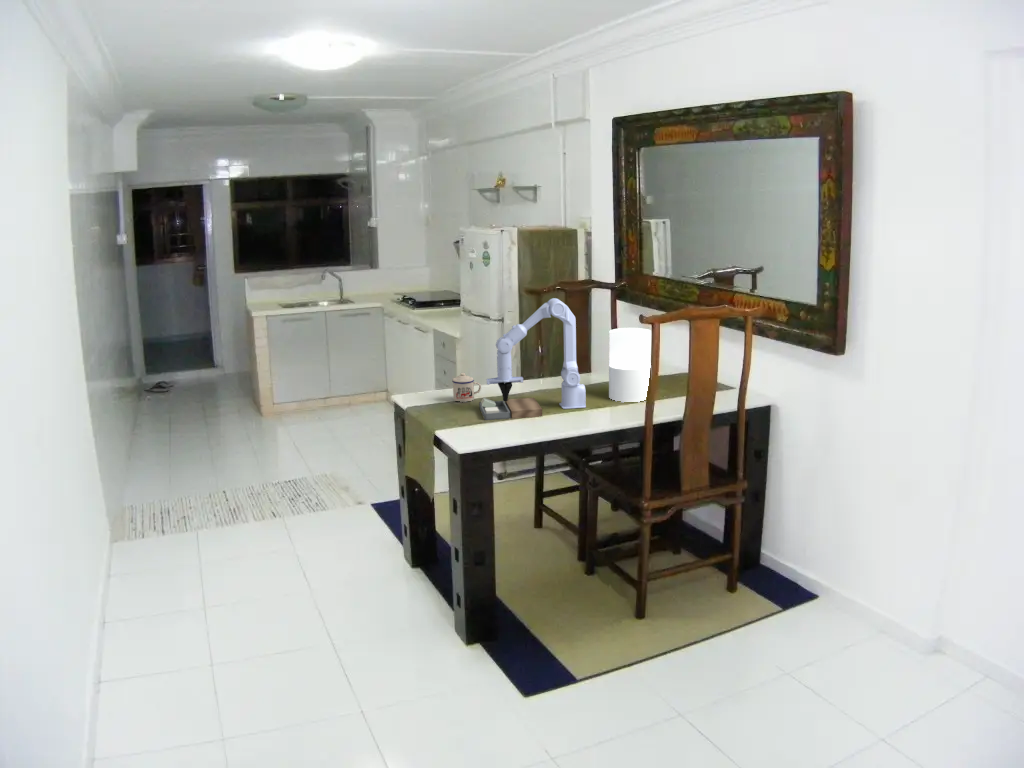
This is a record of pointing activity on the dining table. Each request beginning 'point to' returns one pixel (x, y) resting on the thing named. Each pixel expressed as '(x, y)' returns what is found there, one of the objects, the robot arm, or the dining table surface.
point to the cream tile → (492, 410)
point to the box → (502, 414)
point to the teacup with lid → (464, 388)
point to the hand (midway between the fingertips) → (505, 400)
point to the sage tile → (488, 403)
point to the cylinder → (629, 364)
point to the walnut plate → (523, 408)
